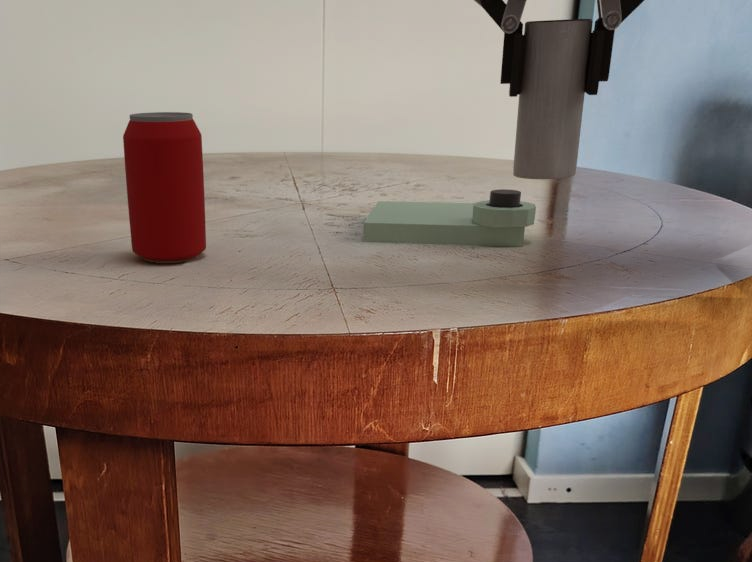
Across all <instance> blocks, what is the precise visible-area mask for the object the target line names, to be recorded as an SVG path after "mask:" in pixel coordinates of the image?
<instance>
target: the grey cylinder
mask: <svg viewBox="0 0 752 562" xmlns="http://www.w3.org/2000/svg"><path fill="white" fill-rule="evenodd" d="M592 32H593V19H592V18H575V19H573V18H572V19H571V18H569V19H550V20H549V19H548V20H531V21H529V20H528V21H525V23H524V31H523V35H525V47H524V58H523V69H522V81H521V92H520V95H518V107H517V116H516V117H517V118H516V130H515V144H514V155H513V167H512V168H513V170H512V171H513V172H512V173H513V174H512V175H513V176H514V177H516V178H519V179H525V180H559V179H561V180H563V179H567V178H572V177H574V176H575V175H576V171H577V167H578V158H579V157H578V156H579V147H580V138H581V130H582V129H581V128H582V121H583V112H584V104H585V103H584V102H585V94H586V93H585V85H586V76H587V67H588V58H589V49H590V40H591V33H592Z"/></svg>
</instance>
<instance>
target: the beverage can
mask: <svg viewBox="0 0 752 562" xmlns="http://www.w3.org/2000/svg"><path fill="white" fill-rule="evenodd" d="M122 137H123V138H122V140H123V141H122V143H123V155H124V171H125V183H126V196H127V197H126V198H127V208H128V218H129V219H128V220H129V231H130V240H131V241H130V242H131V250H132V252H133V253H134V254H135V255H137V256H138V257H140V258H141V259H142V260H143V261H145V260H146V261H145V262H148V261H149V262H148V263H153V262H155V263H154V264H178V263H180V264H181V263H187V262H188V261H192V260H195V259H197V257H198V256H199V255H201V254H202V253H203V252H204V251H206V249H207V230H206V228H207V227H206V204H205V203H206V201H205V179H204V178H205V177H204V155H203V138H202V137H203V136H202V133H201V131H200V129H199V127H198V125H197V123H196V121H195V120H194V116H193V113H191V112H179V111H177V112H176V111H158V112H156V111H155V112H138V113H132V114H129V121H128V122H127V125H126V128H125V130H124V132H123V135H122Z"/></svg>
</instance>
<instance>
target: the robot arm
mask: <svg viewBox="0 0 752 562" xmlns="http://www.w3.org/2000/svg"><path fill="white" fill-rule="evenodd" d="M473 1H474V2H475V3H476V4H478V5H479V6H480V7H481V8H482V9H483V10H484V11H485V13H487V15H488V16H489V17H490V18H491V20H492V21H493V22H494V23H495V24H496V25H497V26H498V27H499V28H500V30H501V31H502V32H503V43H502V44H503V45H502V57H501V70H500V85H501V84H502V85H509V87H508V88H509V90H508V96H509V97H510V98H513V97H514V98H515V97H516V98H517V97H518V96H519V95H520V92H521V81H522V69H523V58H524V47H525V35H524V31H523V29H524V23H523V22H522V21H521V20H522V16H523V14H524V11H525V7H526V4H527V1H528V0H507V1H506V2H505V1H504V0H473ZM644 1H645V0H595V3H596V12H597V19H596V20H595V21H594V27H593V30H592V32H591V40H590V49H589V58H588V67H587V76H586V85H585V94H587V95H588V96H597V95H598V92H599V85H600V82H608V81H609V77H610V70H611V63H612V57H613V56H612V55H613V54H612V53H613V48H614V47H613V46H614V38H615V32H616V29H617V28H618V27H620V25H621V24H622V23H623V22H624V21H625V20H626V19H627V18H628V17H629V16H630V15H631V14H632V13H634V11H635V10H636V9H637V8H638V7H639V6H641V4H642V3H643V2H644Z"/></svg>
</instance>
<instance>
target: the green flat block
mask: <svg viewBox="0 0 752 562" xmlns="http://www.w3.org/2000/svg"><path fill="white" fill-rule="evenodd" d="M489 201H490V199H489V200H480V201H475V202H436V201H435V202H432V201H429V202H428V201H426V202H425V201H423V202H422V201H391V200H390V201H388V200H385V201H383V200H379V201H377V202H376V204H375V206H373V208H372V210H371V211H370V213H369V214H368V216H367V217H366V219H365V220H364V222H363V228H362V230H363V231H362V232H363V233H362V242H363V243H388V244H390V243H391V244H418V245H419V244H421V245H423V244H424V245H452V246H453V245H456V246H485V247H486V246H489V247H519V248H520V247H524V240H525V239H524V238H525V231H526V228H527V227H529V226H532V225H533V226H534V225H535V219H536V212H537V211H536V209H537V206H536V204H535V203H531V202H529V201H521V200H520V207H515V208H499V207H490V206H489Z"/></svg>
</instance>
